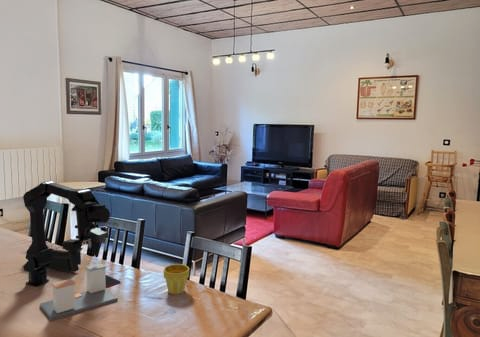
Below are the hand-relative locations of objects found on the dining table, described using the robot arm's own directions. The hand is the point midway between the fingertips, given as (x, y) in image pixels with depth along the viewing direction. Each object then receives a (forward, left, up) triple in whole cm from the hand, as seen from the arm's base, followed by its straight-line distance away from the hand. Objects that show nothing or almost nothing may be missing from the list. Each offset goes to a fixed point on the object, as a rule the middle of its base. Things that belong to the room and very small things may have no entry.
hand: (88, 260), depth 148 cm
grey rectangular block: (+2, +3, -13) cm, 13 cm away
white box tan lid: (+2, -15, -13) cm, 19 cm away
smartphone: (-3, +14, -15) cm, 21 cm away
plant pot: (+31, +16, -14) cm, 37 cm away
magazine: (-35, +17, -14) cm, 41 cm away
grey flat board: (+2, -7, -14) cm, 16 cm away
